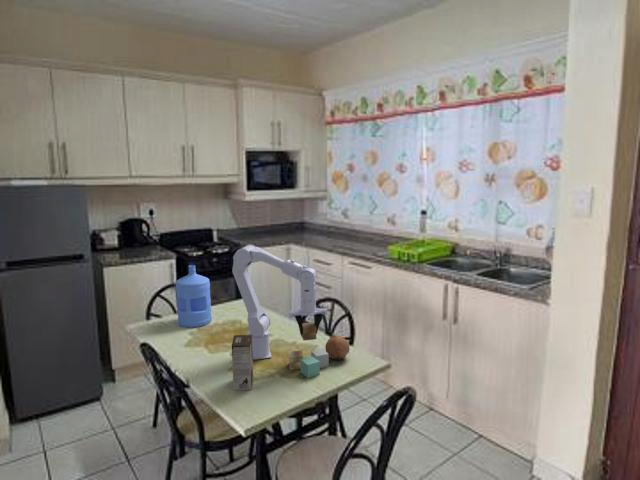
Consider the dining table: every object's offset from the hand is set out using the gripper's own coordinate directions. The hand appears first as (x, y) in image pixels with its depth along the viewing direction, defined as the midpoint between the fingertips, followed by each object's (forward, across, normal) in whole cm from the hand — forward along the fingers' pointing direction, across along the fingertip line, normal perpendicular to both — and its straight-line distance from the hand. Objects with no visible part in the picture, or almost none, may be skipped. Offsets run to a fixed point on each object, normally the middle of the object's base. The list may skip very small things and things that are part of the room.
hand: (308, 333), depth 169 cm
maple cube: (+10, -6, -5) cm, 13 cm away
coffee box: (+11, -26, -14) cm, 31 cm away
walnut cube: (+2, 0, 0) cm, 2 cm away
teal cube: (+10, -2, -12) cm, 16 cm away
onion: (+11, +11, -2) cm, 15 cm away
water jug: (+11, -45, +53) cm, 70 cm away
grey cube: (+10, +3, -6) cm, 12 cm away
